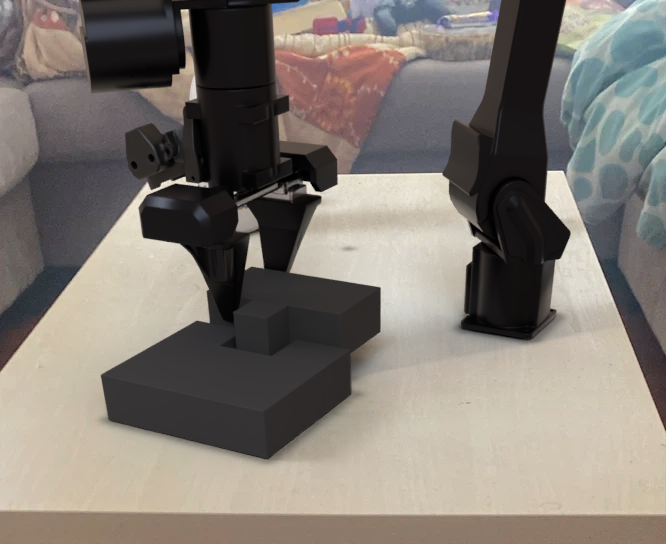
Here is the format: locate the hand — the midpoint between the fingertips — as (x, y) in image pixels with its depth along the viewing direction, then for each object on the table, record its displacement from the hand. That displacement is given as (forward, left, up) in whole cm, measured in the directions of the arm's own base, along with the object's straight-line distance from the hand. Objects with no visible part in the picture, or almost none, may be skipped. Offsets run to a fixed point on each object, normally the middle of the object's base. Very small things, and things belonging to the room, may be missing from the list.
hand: (253, 306), depth 83 cm
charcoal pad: (-4, +10, -4) cm, 11 cm away
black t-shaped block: (-4, +2, -1) cm, 4 cm away
